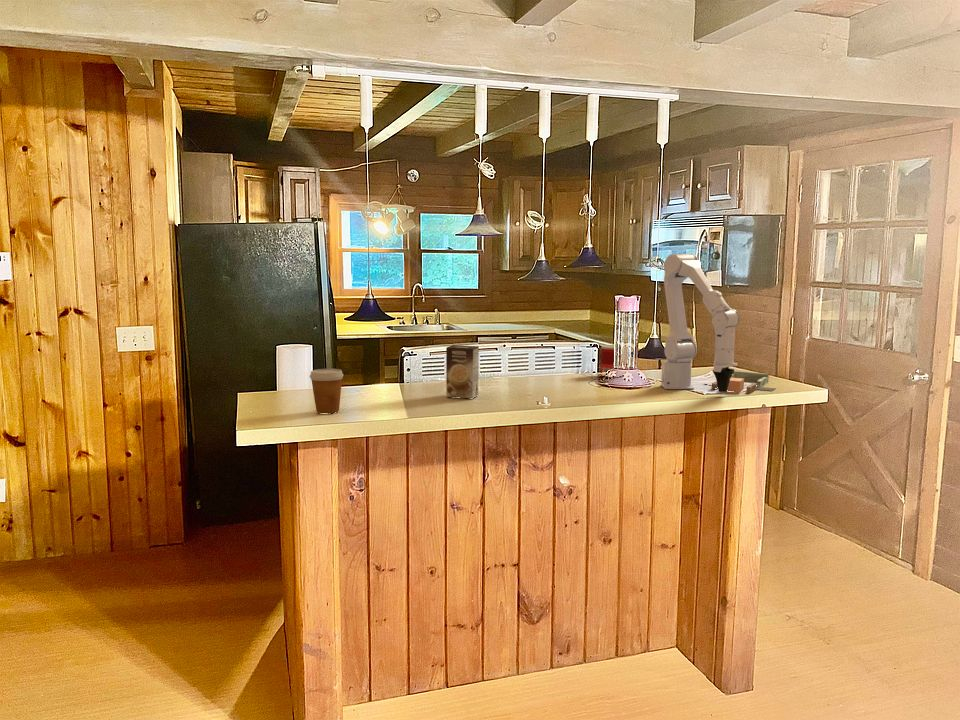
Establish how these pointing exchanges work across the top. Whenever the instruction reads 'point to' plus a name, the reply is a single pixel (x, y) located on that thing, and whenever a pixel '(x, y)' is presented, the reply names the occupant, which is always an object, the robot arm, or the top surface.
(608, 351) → the canned food
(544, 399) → the top surface
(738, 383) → the block
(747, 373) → the trap lane
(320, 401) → the disposable coffee cup
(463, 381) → the coffee box
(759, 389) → the trap pads
